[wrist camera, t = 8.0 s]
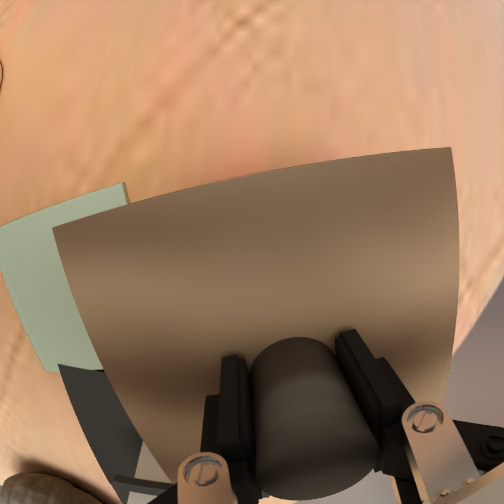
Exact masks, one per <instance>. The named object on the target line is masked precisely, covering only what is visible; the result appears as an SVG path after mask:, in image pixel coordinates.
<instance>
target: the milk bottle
mask: <svg viewBox="0 0 504 504" xmlns="http://www.w3.org/2000/svg"><path fill="white" fill-rule="evenodd" d="M1 79H2V67H1V63H0V84H1Z"/></svg>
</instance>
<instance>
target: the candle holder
mask: <svg viewBox="0 0 504 504" xmlns="http://www.w3.org/2000/svg"><path fill="white" fill-rule="evenodd" d="M58 367H59V370H60V373H61V376H62V379H63V382H64V385H65V388H66V390H67V393H68V396H69V398H70V401H71V404H72V406H73V409H74V411H75V414H76V416H77V418H78V421H79V423H80V425H81V428H82V430H83V432H84V434H85V436H86V439H87V441H88V443H89V445H90V447H91V449H92V451H93V453H94V455H95V457H96V459H97V461H98V463H99V465H100V467H101V469H102V470H103V472H104V474H105V476H106V478H107V479H108V481H109V483H110V484H111V485H112V487H113V488H114V490H115V492H116V493H117V495H118V497H119V498H120V500H121V502H122V503H123V504H147V503H148V502H150V501H151V500H153V499H154V498H156V497H157V496H159V495H160V494H162V493H163V492H164V491H166V490H167V489H169V488H170V487H171V486H173V484H172V482H171V481H170V480H169V478H168V477H167V475H166V474H165V473H164V471H163V470H162V468H161V467H160V465H159V464H158V463H157V461H156V460H155V458H154V457H153V455H152V454H151V452H150V451H149V449H148V448H147V446H146V444H145V443H144V441H143V440H142V438H141V436H140V435H139V433H138V432H137V430H136V428H135V427H134V425H133V423H132V422H131V420H130V418H129V416H128V415H127V413H126V411H125V409H124V408H123V406H122V404H121V402H120V400H119V398H118V397H117V395H116V393H115V391H114V389H113V387H112V385H111V383H110V381H109V379H108V377H107V375H106V373H105V372H100V371H94V370H88V369H83V368H77V367H72V366H67V365H62V364H58ZM269 496H270V495H269V494H267V493H265V492H264V491H262V498H266V497H269Z"/></svg>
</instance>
